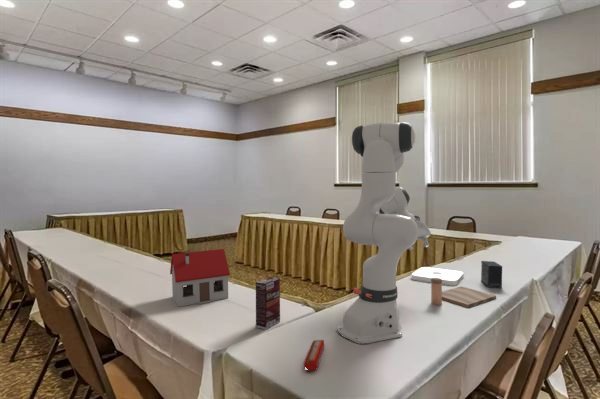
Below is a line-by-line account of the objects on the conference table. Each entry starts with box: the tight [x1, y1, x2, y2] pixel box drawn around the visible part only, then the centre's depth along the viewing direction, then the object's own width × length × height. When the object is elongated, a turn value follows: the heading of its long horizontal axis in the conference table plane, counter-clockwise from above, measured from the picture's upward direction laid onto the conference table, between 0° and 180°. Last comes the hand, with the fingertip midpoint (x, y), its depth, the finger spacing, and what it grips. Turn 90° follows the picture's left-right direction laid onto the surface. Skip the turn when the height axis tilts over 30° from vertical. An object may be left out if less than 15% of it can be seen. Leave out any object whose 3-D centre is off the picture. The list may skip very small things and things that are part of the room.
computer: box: [411, 266, 465, 286], centre depth 177 cm, size 22×22×3 cm
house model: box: [169, 248, 231, 307], centre depth 150 cm, size 25×20×21 cm
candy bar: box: [303, 339, 325, 371], centre depth 96 cm, size 16×4×3 cm, turn 167°
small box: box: [480, 260, 503, 289], centre depth 163 cm, size 11×6×10 cm, turn 168°
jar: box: [430, 278, 443, 306], centre depth 139 cm, size 4×4×10 cm
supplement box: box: [255, 276, 281, 331], centre depth 120 cm, size 9×5×16 cm, turn 148°
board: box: [442, 286, 497, 308], centre depth 145 cm, size 20×16×1 cm
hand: (419, 247), depth 147 cm, fingers open, 8 cm apart
